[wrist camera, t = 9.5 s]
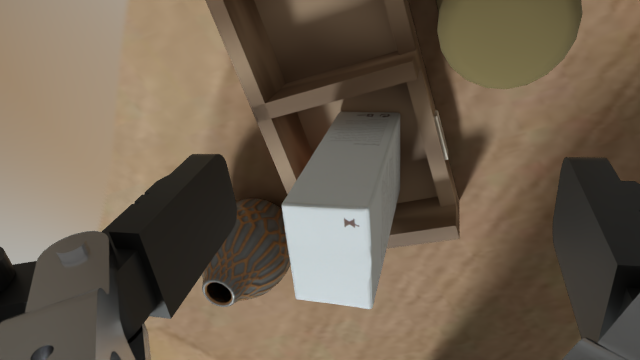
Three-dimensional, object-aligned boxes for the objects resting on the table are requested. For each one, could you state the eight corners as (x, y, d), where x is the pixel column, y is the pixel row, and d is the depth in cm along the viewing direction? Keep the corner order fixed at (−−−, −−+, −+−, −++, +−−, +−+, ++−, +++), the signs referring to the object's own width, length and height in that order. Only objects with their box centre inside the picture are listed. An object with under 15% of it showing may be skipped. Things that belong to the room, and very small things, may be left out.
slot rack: (462, 200, 32) (462, 238, 28) (329, 222, 36) (314, 257, 32) (372, -156, 24) (355, -171, 20) (212, -78, 28) (172, -79, 24)
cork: (576, -33, 24) (650, -7, 15) (502, 65, 27) (525, 138, 18) (478, -92, 24) (491, -102, 15) (415, 14, 27) (393, 60, 18)
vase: (282, 175, 35) (235, 242, 28) (318, 246, 38) (284, 325, 30) (212, 196, 38) (152, 262, 31) (249, 261, 40) (203, 337, 33)
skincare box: (337, 109, 31) (278, 200, 21) (401, 110, 30) (372, 206, 20) (342, 188, 34) (292, 302, 23) (401, 191, 32) (375, 312, 22)
